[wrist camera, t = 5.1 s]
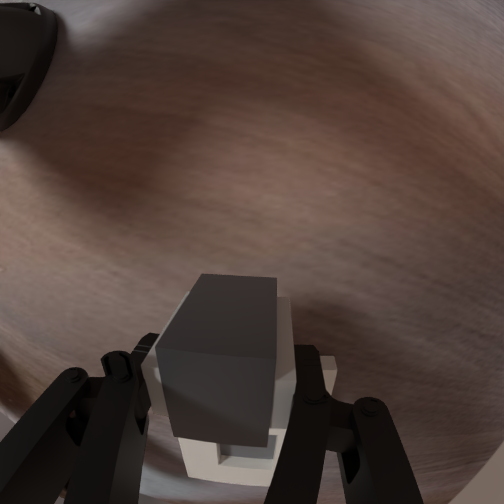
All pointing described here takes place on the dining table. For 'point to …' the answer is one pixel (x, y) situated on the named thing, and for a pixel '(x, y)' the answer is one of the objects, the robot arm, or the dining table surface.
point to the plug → (221, 361)
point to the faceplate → (243, 451)
